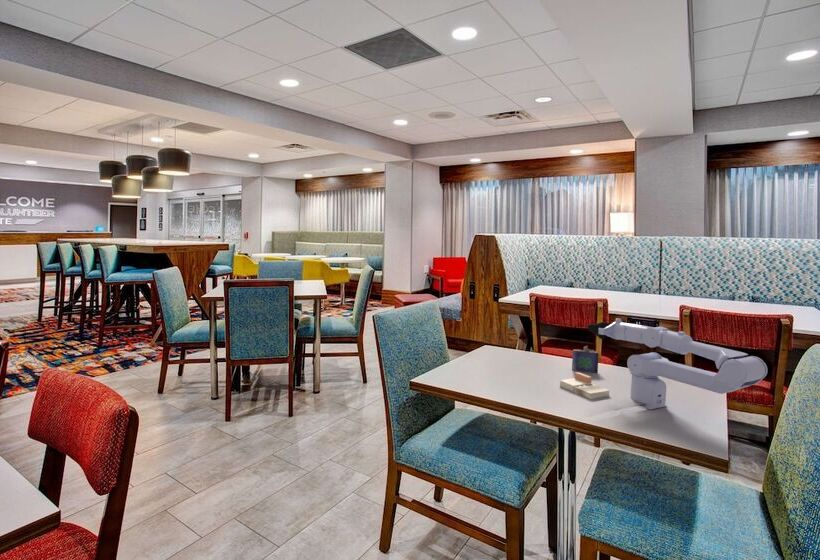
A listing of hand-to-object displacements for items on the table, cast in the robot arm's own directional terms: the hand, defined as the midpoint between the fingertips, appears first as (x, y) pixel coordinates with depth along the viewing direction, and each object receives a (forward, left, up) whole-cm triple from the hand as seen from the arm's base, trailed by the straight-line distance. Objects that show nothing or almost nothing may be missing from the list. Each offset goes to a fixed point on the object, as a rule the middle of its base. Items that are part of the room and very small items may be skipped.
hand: (596, 326), depth 160 cm
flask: (+10, -6, -21) cm, 24 cm away
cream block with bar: (-3, +12, -19) cm, 23 cm away
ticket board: (-7, +16, -21) cm, 27 cm away
